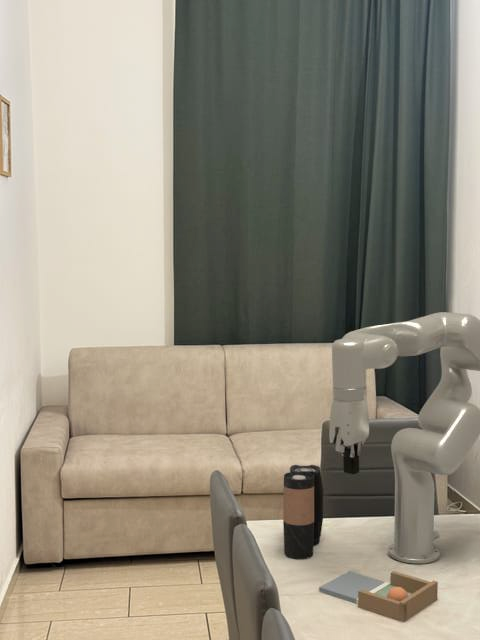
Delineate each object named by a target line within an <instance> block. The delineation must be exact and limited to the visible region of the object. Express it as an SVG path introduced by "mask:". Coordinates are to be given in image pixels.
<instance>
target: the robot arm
mask: <svg viewBox="0 0 480 640" xmlns="http://www.w3.org/2000/svg"><path fill="white" fill-rule="evenodd" d="M437 349H440V352H439V353H440V354H439V355H440V356H439V357H440V365H441V376H440V377H441V378H440V381H439V383H438V384H437V386H436V387H435V388H434V390H433V392H432V393H431V395H430V396H429V397H428V399H427V400H426V401H425V402H424V404H423V406H422V408H421V409H420V411H419V413H418V416H417V422H418V426H419V427H420V428H417V427H415V428H414V427H405V428H403V429H400V430H398V431H397V432H396V433H395V434H394V436H393V438H392V440H391V443H390V444H391V445H390V450H391V457H392V462H393V467H394V531H393V532H394V534H393V535H394V536H393V538H394V539H393V543H391V544H390V545H389V546H388V547H387V554H388V556H389V557H391V558H392V559H394V560H395V561H398V562H403V563H406V564H407V563H408V564H429V563H433V562H436V561H437V560H438V559H439V558H440V555H441V554H440V553H441V552H440V550H439V548H437V547H436V546H434V542H435V541H436V540H437V539H439V538H440V533H439V532H438V531H436V530H435V528H434V527H435V525H434V524H435V522H434V521H435V482H434V479H433V476H432V474H435V475H439V476H449V475H452V474H453V473H455V472H456V471H457V470H458V468H459V467H460V466H461V465H462V464H463V462H464V461H465V459H466V457H467V455H468V454H469V453H470V451H471V450H472V448H473V447H474V445H475V444H476V442H477V440H478V438H479V436H480V408H479V407H478V406H477V405H476V404H474V403H471V402H469V401H470V399H471V397H472V394H473V388H472V387H473V386H472V384H471V381H470V378H469V375H468V371H467V370H469V371H476V372H480V319H479V318H478V317H477V316H475V315H473V314H470V313H469V314H468V313H460V312H447V311H446V312H445V311H443V312H441V311H440V312H435V313H430V314H428V315H425V316H420V317H417V318H414V319H411V320H407V321H398V322H392V323H387V324H386V323H385V324H379V325H372V326H367V327H362V328H360V329H356V330H353V331H349V332H348V333H345V335H343V336H342V338H341V339H336V340H334V342H333V343H332V346H331V364H332V365H331V366H332V368H331V369H332V400H333V401H332V402H331V406H330V413H329V429H328V430H329V434H328V436H329V443H330V444H331V445H335V452H337V453H341V456H342V458H343V460H342V461H343V462H342V463H343V472H344V473H346V474H351V475H356V474H359V473H360V455H361V451H362V450H361V447H362V445H364V443H366V440H367V438H368V437H369V436H370V420H369V419H370V418H369V417H370V416H369V409H368V408H369V407H368V401H367V399H368V398H367V396H368V395H367V370H369V369H370V370H371V369H375V370H377V369H380V370H381V369H385V368H388V367H390V366H392V365H393V364H394V363H395V361H396V360H397V358H398V357H411V356H419V355H423V354H426V353H428V352H431V351H434V350H437Z"/></svg>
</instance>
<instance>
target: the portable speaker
mask: <svg viewBox="0 0 480 640" xmlns="http://www.w3.org/2000/svg"><path fill="white" fill-rule="evenodd" d="M289 472H290V473H291V474H297V473H299V472H308V473H311V474H313V475H314V540H313V547H315V546H316V545H319V544H320V540H321V539H320V538H321V536H322V530H323V523H324V522H323V520H324V488H323V487H324V486H323V479H322V473H321V467H320V466H319V465H315V464H310V465H298V464H293V465H291V466H290V467H289Z"/></svg>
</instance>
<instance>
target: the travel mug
mask: <svg viewBox="0 0 480 640" xmlns="http://www.w3.org/2000/svg"><path fill="white" fill-rule="evenodd" d="M282 503H283V507H282V508H283V511H282V513H283V514H282V515H283V517H282V518H283V520H282V521H283V524H282V525H283V553H284V556H286V557H287V558H288V559H293V560H306V559H309V558H311V557H313V555H314V546H313V540H314V475H313V474H311V473H308V472H299V473H297V474H291V473H290V471H289V472H286V473H285V474H284V475H283V501H282Z"/></svg>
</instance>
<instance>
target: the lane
mask: <svg viewBox="0 0 480 640" xmlns="http://www.w3.org/2000/svg"><path fill="white" fill-rule="evenodd" d="M438 586H439V582H438V581H437V580H432V581H430V580H425V579H422V578H419V577H415V576H411V575H408V574H405V573H402V572H398V571H394V570H393V571H390V582H387V581H384V580H381V579H377V578H374V577H370V576H367V575H365V574H360V573H357V572H354V571H352V570H349V571H347V572H344V573H343V574H341V575H339V576H337V577H336V578H333V579H332V580H330V581H328V582H326V583H324V584H322V585H320V586H319V587H318V591H319V592H320V593H323V594H326V595H329V596H332V597H335V598H338V599H342V600H343V601H348V602H351V603H354V604H357V607H358V608H360V609H363V610H366V611H369V612H372V613H376V614H378V615H381V616H385V617H387V618H390V619H393V620H397V621H400V622H402V623H404V622H406V621H407V620H409V619H410V618H412V617H413V616H415V615H417V614H418V613H419V612H421V611H422V610H424V609H425V608H426V607H428V606H430V605H432V604H433V603H434V602H436V601H437V600H438V591H439V590H438V588H439V587H438ZM393 587H401V588H403V589H404V590H405V591H406V592H407V594H408V597H406V598H405V599H403V600H402V601H397V600H393V599H390V598H387V594H388V592H389V590H390V589H392V588H393Z"/></svg>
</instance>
